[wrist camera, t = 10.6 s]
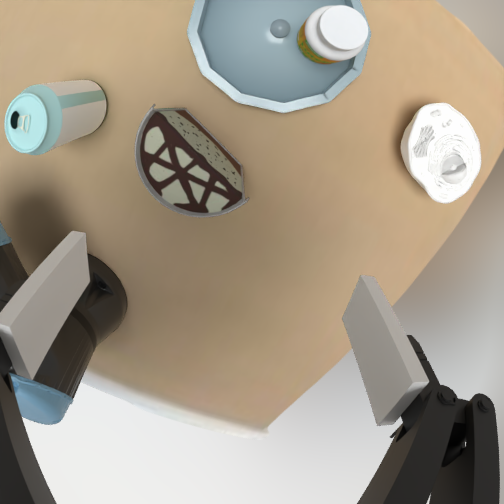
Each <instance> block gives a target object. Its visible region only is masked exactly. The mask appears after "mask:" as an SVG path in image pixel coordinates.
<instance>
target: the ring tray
mask: <svg viewBox="0 0 504 504" xmlns="http://www.w3.org/2000/svg"><path fill="white" fill-rule="evenodd" d="M337 5H343V6H348V7H351V8H353V9H355V10H357V11H358V12H359V13H360V14H361V15H362V16H363V17H364V19H365V20H366V22H367V19H366V16H365V13H364V10H363V7H362V4H361V2H360V0H195V3H194V7H193V10H192V14H191V18H190V22H189V26H188V30H187V35H188V38H189V40H190V43H191V46H192V49H193V52H194V54H195V57H196V60H197V63H198V66H199V68H200V71H201V73H202V74H203V75H204V76H205V77H207V78H208V79H209V80H210V81H212V82H213V83H214V84H215V85H216V86H218V87H219V88H220V89H221V90H223V91H224V92H225V93H226V94H227V95H229V96H230V97H231V98H232V99H233V100H234V101H236V102H237V101H238V103H241V104H246V105H251V106H256V107H260V108H264V109H269V110H273V111H277V112H281V113H283V112H284V113H286V112H290V111H294V110H298V109H302V108H306V107H311V106H315V105H319V104H324V103H328V102H330V101H331V100H332V99H333V98H334V97H336V96H337V95H338V94H339V93H340V92H341V91H342V90H343V89H344V88H345V87H346V86H347V85H349V84H350V83H351V82H352V81H353V80H354V79H355V78H356V77H357V76H359V75H360V74H361V72H362V68H363V64H364V60H365V57H366V53H367V49H368V45H369V41H370V37H371V34H370V33H371V31H370V28H369V25H368V22H367V25H368V36H367V39H366V41H365V44H364V46H363V48H362V50H361V51H360V52H359V53H358V54H357V55H356V56H354V57H352V58H350V59H348V60H344V61H340V62H336V63H332V64H317V63H314V62H312V61H310V60H308V59H307V58H306V57H304V56H303V54H302V53H301V52H300V50H299V48H298V45H297V34H298V31H299V29H300V27H301V26H302V25H303V23H304V22H305V21H306V19H307V18H308V17H309V16H310V15H311V14H312V13H313V12H314V11H315V10H317V9H319V8H321V7H324V6H337Z"/></svg>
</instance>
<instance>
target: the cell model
mask: <svg viewBox="0 0 504 504" xmlns="http://www.w3.org/2000/svg"><path fill="white" fill-rule="evenodd" d="M401 154H402V158H403V161H404V163H405V166H406V168H407V170H408V172H409V173H410V175H411V176H412V177H413V178H414V179H415V180H416V181H417V182H418V183H419V184H420V186H421V187H422V188H423V189H424V190H425V191H426V192H427V193H428V194H429V196H430V197H431V198H432V199H433V200H435V201H437V202H439V203H451V202H453V201H455V200H456V199H458V198H459V197H461V196H462V195H464V194H465V193H466V192H467V191H468V190H469V189H470V187H471V186H472V184H473V182H474V180H475V178H476V177H477V175H478V173H479V171H480V167H481V152H480V143H479V140H478V137H477V135H476V133H475V131H474V129H473V127H472V126H471V124H470V122H469V121H468V120H467V119H466V117H465V116H464V115H462V114H461V113H460V112H459V111H457V110H456V109H454V108H453V107H452V106H451V105H449V104H447V103H433V104H428V105H425V106H423V107H422V108H420V109H419V110H418V111H417V112H416V114H415V115H414V117H413V119H412V121H411V122H410V123H409V125H408V126H407V127H406V129H405V131H404V135H403V138H402V141H401Z"/></svg>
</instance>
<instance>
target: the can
mask: <svg viewBox="0 0 504 504" xmlns="http://www.w3.org/2000/svg"><path fill="white" fill-rule="evenodd" d="M105 113H106V98H105V95H104V92H103V91H102V89H101V88H100V86H99V85H97V84H96V83H95V82H93V81H90V80H74V81H63V82H53V83H45V84H37V85H32V86H30V87H28V88H26V89H25V90H23V91H22V92H21V93H20V94H19V95H18V96H17V97H15V98H14V99H13V101H12V102H11V103H10V105H9V107H8V109H7V112H6V116H5V133H6V136H7V139H8V141H9V143H10V144H11V146H12V147H13V148H14V149H15V150H17V151H18V152H21V153H27V154H30V155H40V154H43V153H46V152H48V151H50V150H52V149H54V148H57V147H59V146H61V145H64V144H66V143H68V142H71V141H73V140H75V139H78V138H80V137H83V136H85V135H88V134H90V133H92V132H94V131H95V130H96V129H97V128H98V127H99V126H100V124H101V123H102V121H103V119H104V116H105Z"/></svg>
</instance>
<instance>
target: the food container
mask: <svg viewBox="0 0 504 504" xmlns="http://www.w3.org/2000/svg"><path fill="white" fill-rule="evenodd" d="M154 106H155V104H154V105H153V106H152V107H151V108H150V110H149V111H148V112H147V114H146V115H145V117H144V118H143V120H142V122H141V124H140V126H139V129H138V132H137V136H136V141H135V161H136V166H137V169H138V173H139V176H140V178H141V180H142V182H143V184H144V185H145V187H146V188H147V190H148V191H149V193H150V194H151V195H152V196H153V197H154V198H155V199H156V200H157V201H159V202H160V203H161V204H162V205H164V206H165V207H167V208H169V209H170V210H172V211H175V212H177V213H179V214H183V215H187V216H192V217H213V216H219V215H222V214H225V213H228V212H231V211H233V210H235V209H237V208H239V207H240V206H242V205H243V204H244V203H246V202H247V201H248V200H249V197H248V198H247V199H245V192H244V179H243V166H242V165H241V164H240V162H239V161H238V160H237V159H236V158H235V157H234V156H233V155H232V154H231V153H230V152H229V151H228V150H227V149H226V148H225V147H224V146H223V145H222V144H221V143H220V142H219V141H218V140H217V139H216V138H215V137H214V136H213V135H212V134H211V133H210V132H209V131H208V130H207V129H206V128H205V127H204V126H203V125H202V124H201V123H200V122H199V121H198V120H197V119H196V118H195V117H194V116H193V115H192V114H191V113H190V112H189V111H188V110H187V109H186V108H164V109H154Z"/></svg>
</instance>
